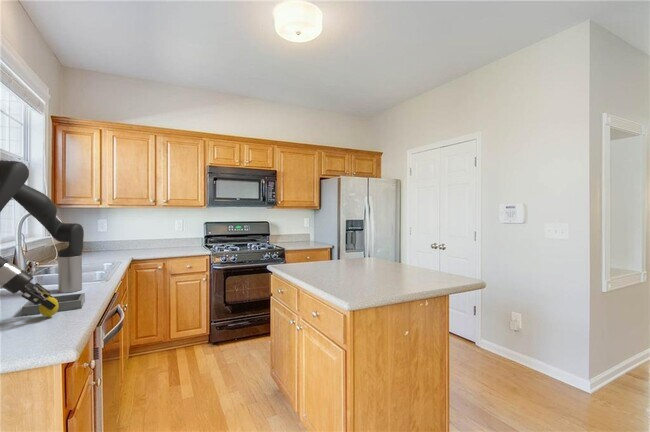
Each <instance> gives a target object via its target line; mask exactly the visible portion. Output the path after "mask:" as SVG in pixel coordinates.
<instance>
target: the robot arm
mask: <svg viewBox="0 0 650 432" xmlns="http://www.w3.org/2000/svg"><path fill="white" fill-rule="evenodd" d="M29 175H30V170H29V167H28V166H27V165H26V164H25V163H24V162H22V161H17V160H0V213H1V212H2V211H3V209H4V208H5V207H6V205H7V204H8V203H9V202H10V201H11V200H12V199H13V200H14V201H16V202H17V203H18V204H19V205H20V206H21V207H23V209H25V211H26V212H28V213H29V214H30V215H31V216H32V217H33V218H34V219H36V220H37V221H38V222H39V223H40V224H41V225H42V226H43V227H44V228H45V229H46V231H47V232H48V233H49V234H50V236H52V238H53V239H54V240H56V241H57V242H61V243H68V246H67V247H65V248H63V249H60V250H58V252H57V280H58V281H57V282H58V283H57V287H58V289H57V290H58V291H57V292H58V293H66V294H67V293H74V292H79V291H81V290H83V259H82V258H83V256H82V255H83V249H84V238H85V236H84V234H85V232H84V227H83V225H82V224H80V223H76V222H75V223H74V222H72V223H71V222H70V223H69V222H67V223H65V222H63V221H60V220H59V219H58V218H57V212H58V208H57V205H56V204H55V203H54V201H52V199H50V198H49V196H48V195H46V194H45V193H43V192H42V191H40V190H37V189H36V188H33V187H31V186H29V185H28V184H25V183H26V182H27V180H28V179H29ZM33 279H34V276H33V275H31V274H29V273H28V272H27V271H25V270H23V269H21V268H20V267H19V266H18V265H16V264H14V263H12V262H10V261H8V260H7V259H6V258H4V257H2V256H0V287H1V288H3V289H5V290H6V291H8V292H9V293H11V294H14V295H15V294H17V293H18V292H19V291H20V292H21V293H22V294H21V298H23V299H25V300H27V301H30V302H32V303H34V304H36V305H38V304H39V305H43V306H44V307H46V308H47V309H49V310H52V309H53V308H54V307H55V306H56V305H55V304H54V303H52V302H51V301H49V300H48V299H46V298H47V297H48V296H50V297H52V296H53V295H52V294H51V292H50V291H49V290H48V289H46V288H45V287H44V286H42V285H41V284H39V283H38V282H36V283H33V282H31V281H32V280H33ZM53 298H54V297H53ZM38 299H39V300H38ZM55 299H56V298H55ZM56 300H57V299H56ZM57 301H58V302H59V300H57Z"/></svg>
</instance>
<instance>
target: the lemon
mask: <svg viewBox="0 0 650 432" xmlns="http://www.w3.org/2000/svg"><path fill="white" fill-rule="evenodd" d="M50 296H51V295H50ZM50 296H48V297H47V298H46V299H48V300H49V301H51V302H52V303H54V304H55V305H56V306H55V307H54V308H53V309H52V310H49V309H47V308H46V307H44V306H43V305H40V306H39V311H40V313H41V314H40V315H42V316H44V317H47V318H51V317H52V316H54V315H55V314H56V313H57V310H58V307H59V304H58V301H57V300H56V299H55V298H53V297H50Z"/></svg>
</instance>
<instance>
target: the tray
mask: <svg viewBox="0 0 650 432" xmlns="http://www.w3.org/2000/svg"><path fill="white" fill-rule="evenodd" d="M51 296H52V297H54V298H56V299H57V300H59V302H58V304H59V307H58V310H57V312H65V311H74V310H82V308H83V306H84V304H85V301H86V293H85V292H80V293H71V294H64V295H63V294H62V295H51ZM38 300H39V299H38ZM39 306H40V305H39V304H38V305H36V304H34V303H32V302H30V301H29V300H27V302H26V303H25V304H24V305H23V306H22V307H21V316H22V317H27V316H35V315H42V314H41V313H40V311H39ZM57 312H56V313H57Z"/></svg>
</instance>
